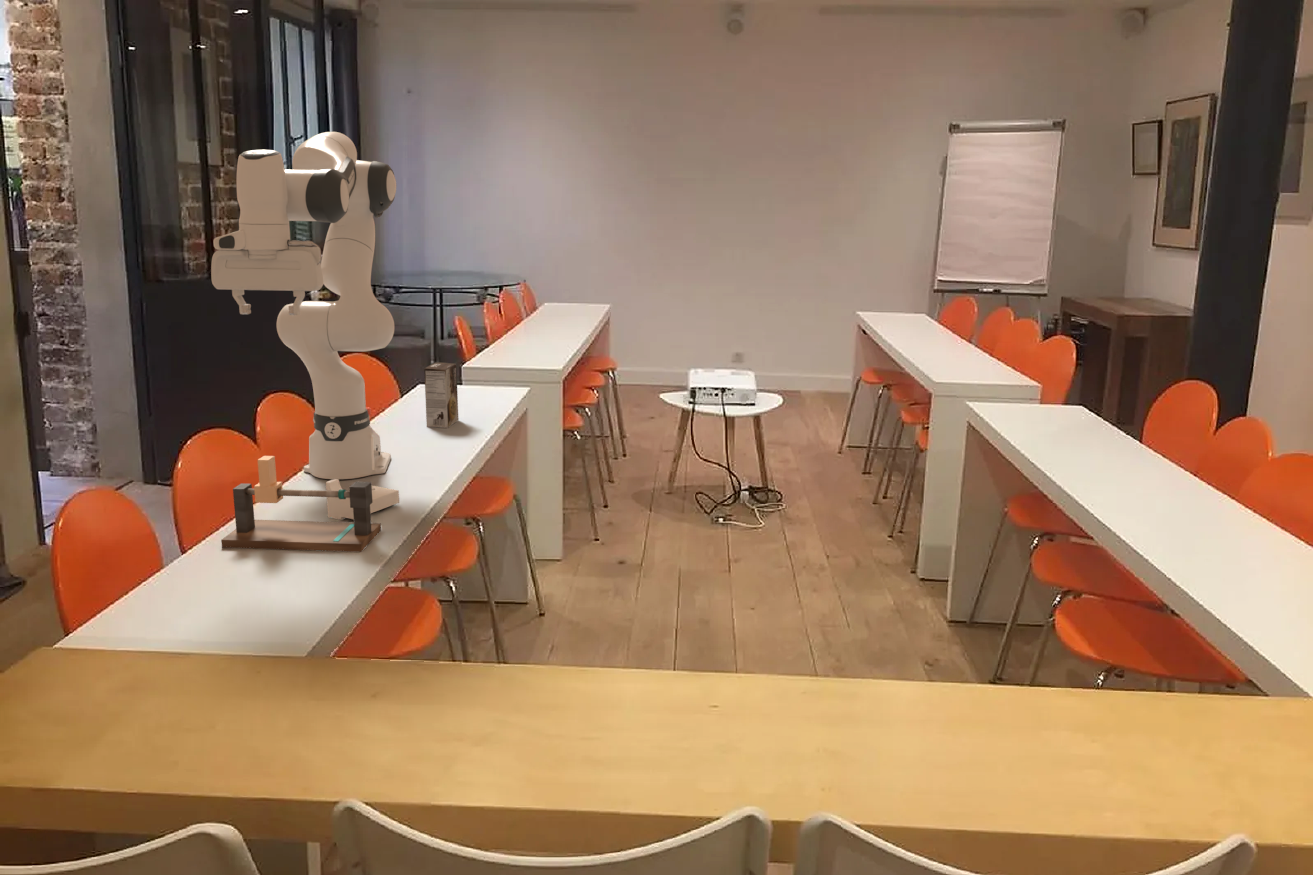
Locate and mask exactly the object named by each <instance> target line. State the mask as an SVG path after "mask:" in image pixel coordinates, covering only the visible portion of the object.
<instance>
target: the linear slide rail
mask: <svg viewBox="0 0 1313 875" xmlns="http://www.w3.org/2000/svg"><path fill="white" fill-rule="evenodd" d="M252 485H253V484H252V483H240V484H238V485H237V486H235V487H233V488H232V496H233V505H234V507H233V509H234V517H235V520H234V521H235V529H234V530H232V531H231V532H230V533H229V534H227V535H226V536H225V537H223V538H221V548H223V549H225V548H226V549H229V548H230V549H231V548H232V549H255V550H256V549H259V550H285V551H286V550H290V551H291V550H292V551H316V550H321V551H322V550H323V551H322V552H346V553H347V552H354V553H362V552H363V550H365V549H366V547H367V546H368V545H369V544H371V543H372V541H373V540H374V539H375V538H376V537H377V536H378V535H379V534H380V533H381V532H382V524H381V523H380V522H379V523H377V522H375V523H374V522H372V520H371V519H372V516H371V515H372V513H370V504H371V503H372V486H373V485H372V481H354V482H353V483H352V484H351V485H350V487H349V486H348V490H346V489H344V488H342V489H340V490H339V491H326V490H321V489H320V490H317V489H316V490H314V489H287V488H283V489H277V496H283V497H284V496H285V497H307V498H308V497H309V498H310V497H311V498H312V497H316V498H317V497H318V498H327V497H338V498H339V499H346V498H350V508H353V514H354V519H353V522H346V521H342V522H341V521H317V520H316V521H311V520H284V519H282V520H281V519H280V520H279V519H275V520H274V519H255V512H254V510H255V509H254V497H253V496H255V491H254V488H252V487H253V486H252ZM325 550H326V551H325ZM321 551H320V552H321Z"/></svg>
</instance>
